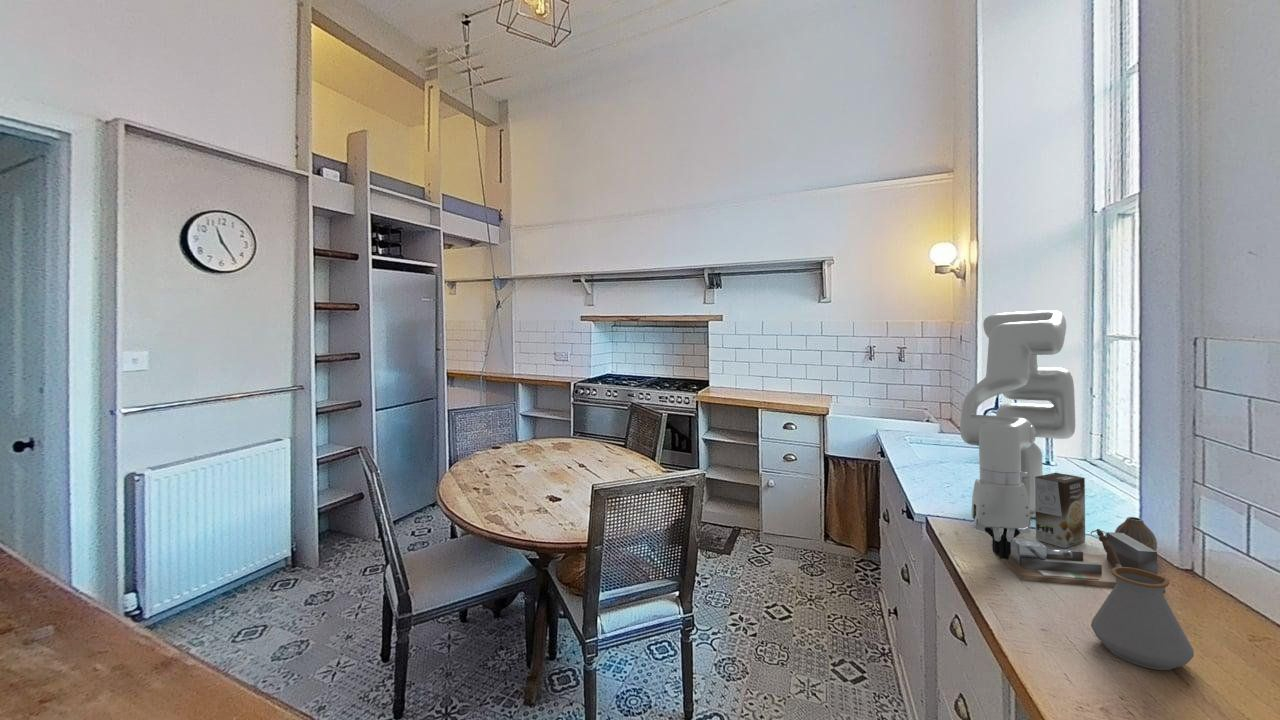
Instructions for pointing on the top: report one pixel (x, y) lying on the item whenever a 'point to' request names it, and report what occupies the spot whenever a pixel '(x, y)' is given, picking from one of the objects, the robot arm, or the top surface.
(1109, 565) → the bench
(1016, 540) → the grey block with rod
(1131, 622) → the coffee pot
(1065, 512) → the coffee box
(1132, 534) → the vase
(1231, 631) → the top surface
